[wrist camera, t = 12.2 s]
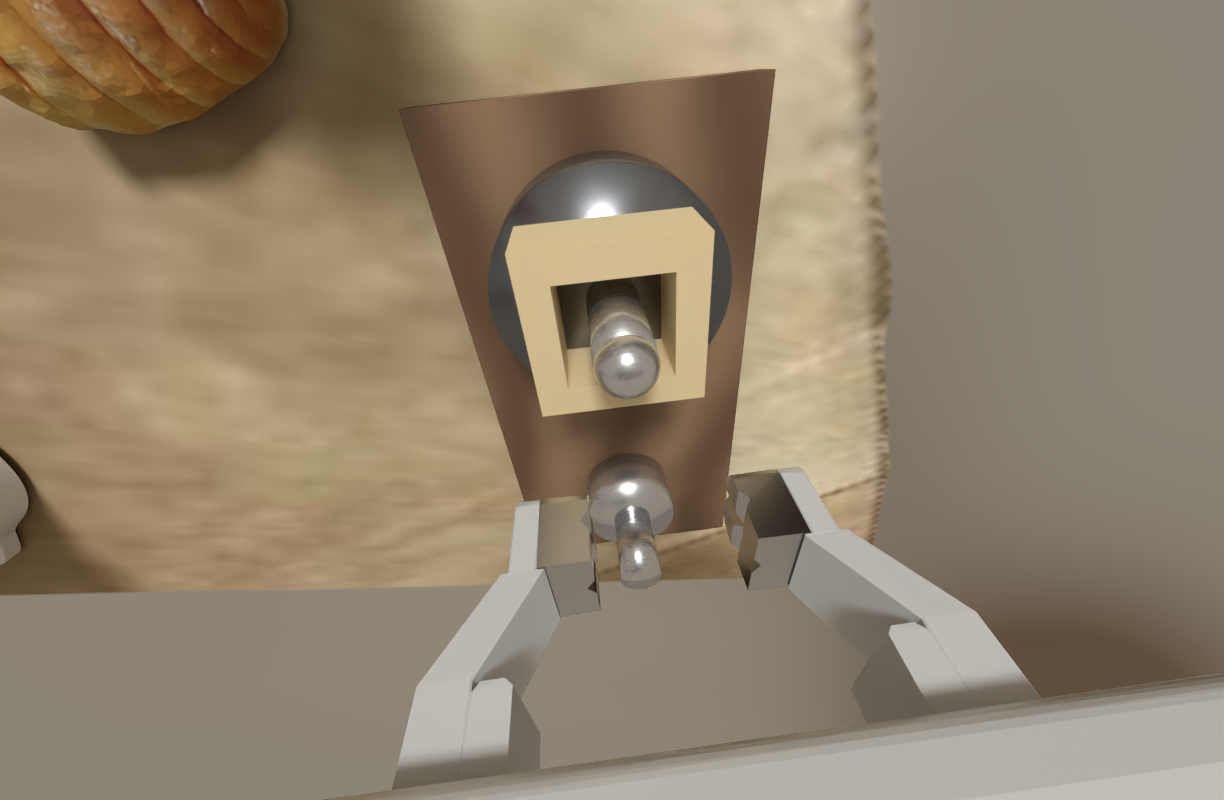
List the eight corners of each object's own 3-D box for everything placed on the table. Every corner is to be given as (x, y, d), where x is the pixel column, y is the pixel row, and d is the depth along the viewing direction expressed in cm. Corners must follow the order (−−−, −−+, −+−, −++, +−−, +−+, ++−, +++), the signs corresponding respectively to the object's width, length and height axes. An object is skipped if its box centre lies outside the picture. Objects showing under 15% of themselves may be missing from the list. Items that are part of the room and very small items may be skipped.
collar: (544, 375, 20) (542, 416, 18) (513, 226, 16) (504, 254, 14) (687, 358, 20) (704, 397, 18) (692, 206, 16) (714, 230, 14)
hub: (522, 373, 23) (504, 510, 16) (469, 165, 17) (402, 235, 10) (706, 351, 24) (771, 476, 16) (719, 136, 17) (830, 186, 10)
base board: (541, 533, 34) (540, 550, 33) (410, 106, 17) (399, 110, 16) (716, 510, 35) (722, 526, 33) (760, 69, 17) (775, 69, 16)
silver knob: (592, 510, 31) (598, 607, 25) (582, 458, 28) (588, 557, 22) (665, 501, 31) (687, 596, 25) (664, 448, 28) (689, 543, 22)
